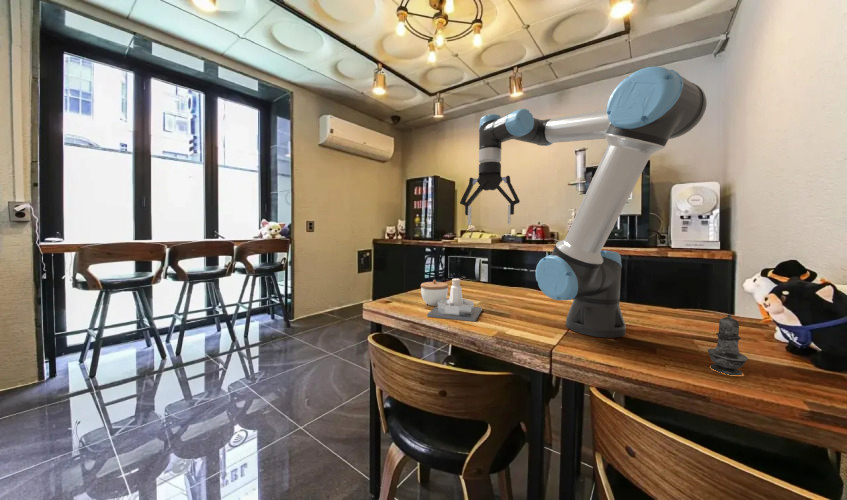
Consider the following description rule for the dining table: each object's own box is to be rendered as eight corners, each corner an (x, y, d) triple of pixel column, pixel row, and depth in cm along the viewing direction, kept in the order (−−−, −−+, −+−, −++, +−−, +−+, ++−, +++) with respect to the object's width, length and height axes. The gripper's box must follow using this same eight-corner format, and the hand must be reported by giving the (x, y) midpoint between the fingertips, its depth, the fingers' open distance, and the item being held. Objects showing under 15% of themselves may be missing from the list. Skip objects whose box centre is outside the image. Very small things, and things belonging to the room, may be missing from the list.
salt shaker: (459, 313, 101) (459, 280, 100) (445, 311, 104) (445, 279, 103) (466, 310, 105) (466, 278, 105) (452, 307, 109) (453, 277, 108)
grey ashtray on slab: (481, 310, 109) (482, 297, 109) (475, 321, 96) (475, 306, 95) (438, 306, 114) (439, 294, 114) (427, 316, 101) (427, 302, 101)
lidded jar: (452, 302, 120) (453, 279, 120) (439, 308, 111) (439, 283, 111) (429, 299, 126) (429, 277, 126) (415, 304, 117) (415, 280, 117)
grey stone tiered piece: (725, 364, 65) (728, 309, 64) (755, 377, 59) (760, 317, 59) (698, 364, 65) (702, 309, 64) (726, 378, 59) (731, 317, 58)
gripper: (527, 162, 104) (526, 224, 106) (456, 167, 112) (456, 224, 114) (528, 157, 97) (526, 224, 99) (452, 163, 105) (451, 224, 107)
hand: (488, 224), depth 106 cm, fingers open, 13 cm apart
